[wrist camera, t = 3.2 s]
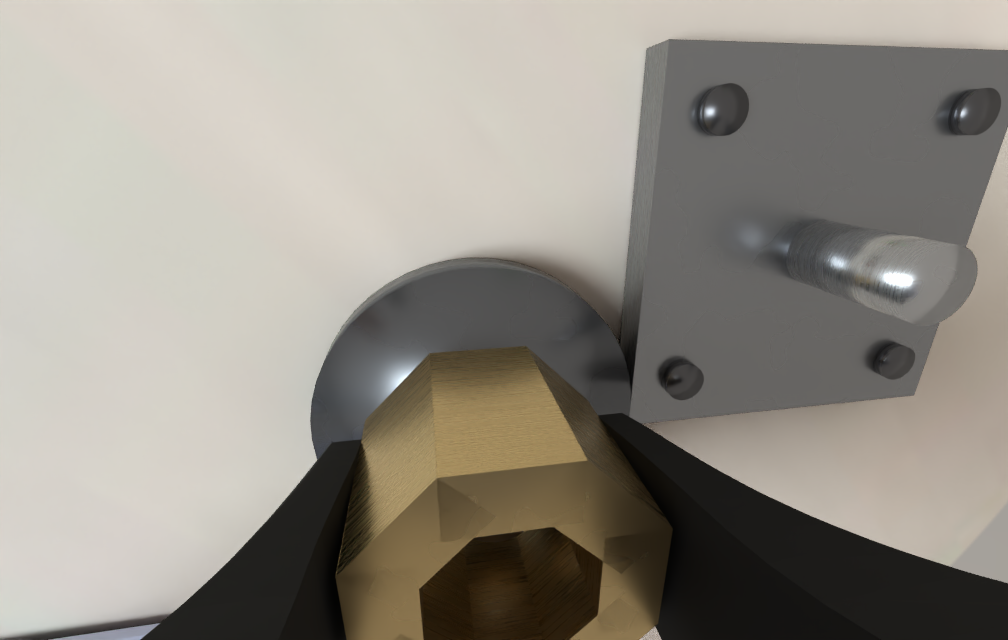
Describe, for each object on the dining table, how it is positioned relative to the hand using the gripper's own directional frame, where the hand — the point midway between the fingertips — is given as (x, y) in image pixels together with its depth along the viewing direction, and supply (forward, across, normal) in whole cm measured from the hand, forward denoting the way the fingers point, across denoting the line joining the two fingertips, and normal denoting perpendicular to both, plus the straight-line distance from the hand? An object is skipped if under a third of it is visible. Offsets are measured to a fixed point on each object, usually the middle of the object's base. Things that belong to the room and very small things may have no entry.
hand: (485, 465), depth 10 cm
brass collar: (+1, 0, 0) cm, 1 cm away
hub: (+2, -9, -4) cm, 10 cm away
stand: (+3, 0, 0) cm, 3 cm away
